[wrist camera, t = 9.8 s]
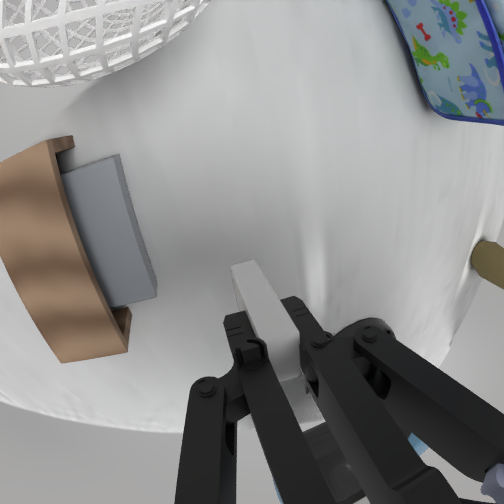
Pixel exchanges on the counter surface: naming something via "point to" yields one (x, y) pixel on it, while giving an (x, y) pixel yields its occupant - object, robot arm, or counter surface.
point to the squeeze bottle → (489, 262)
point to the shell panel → (110, 231)
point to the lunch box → (457, 55)
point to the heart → (87, 38)
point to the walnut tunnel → (54, 259)
